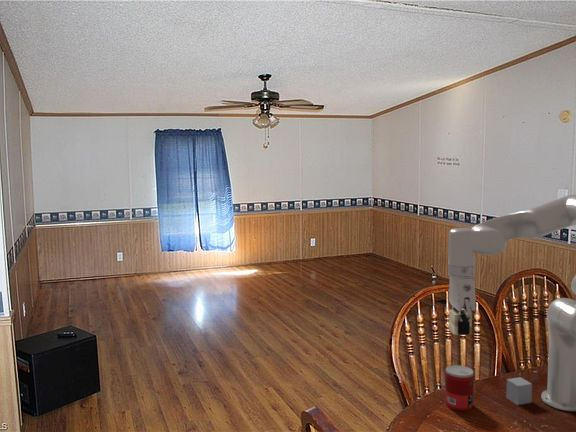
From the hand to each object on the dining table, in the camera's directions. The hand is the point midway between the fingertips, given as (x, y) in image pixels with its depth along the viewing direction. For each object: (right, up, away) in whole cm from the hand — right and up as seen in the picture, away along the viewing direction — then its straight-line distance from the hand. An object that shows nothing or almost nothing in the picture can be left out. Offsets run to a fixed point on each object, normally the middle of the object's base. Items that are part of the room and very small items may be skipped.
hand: (460, 330), depth 155 cm
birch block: (0, -1, 0) cm, 1 cm away
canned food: (+1, -23, +3) cm, 24 cm away
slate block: (+19, -23, +5) cm, 30 cm away
